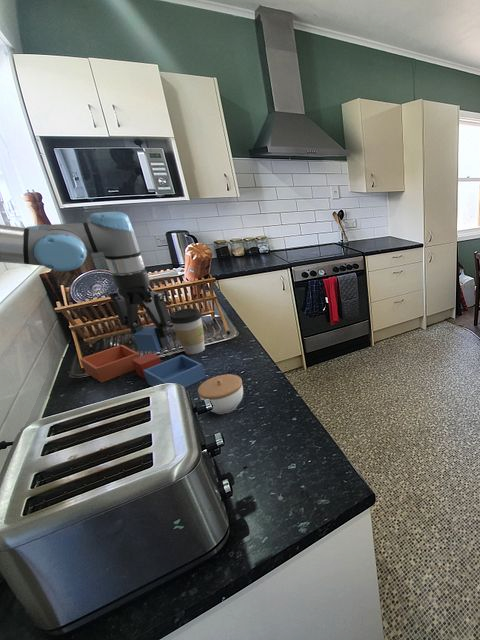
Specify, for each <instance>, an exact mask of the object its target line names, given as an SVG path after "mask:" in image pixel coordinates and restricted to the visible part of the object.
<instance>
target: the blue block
mask: <svg viewBox="0 0 480 640" xmlns="http://www.w3.org/2000/svg"><path fill="white" fill-rule="evenodd" d="M155 328H156V325H153V326H152V325H151V326H148V325H146V326H143V329H141V330H140V331H138V332H136V333H135V334H133V335H132V337H133V340H134V342H135V345H136V347H137V351H138V352H160V350H161V351H162V349H161V348H160V345H159V342H158V339H157V336H156V333H155V330H154V329H155ZM167 338H168V342H169V344H170V343H171V342H170V338H169V335H168V336H167Z"/></svg>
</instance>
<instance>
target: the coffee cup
mask: <svg viewBox="0 0 480 640" xmlns="http://www.w3.org/2000/svg"><path fill="white" fill-rule="evenodd" d="M169 315H170V318H171V321H172V322H171V323H170V324H171V325H172V327H173V330H174V332H175V335H176V337H177V339H178V342H179V343H180V345H181V346H182V348H183V350H184V353H185V354H186V355H195V354H199V353H200V354H201V353H202V352H203V351H205V349H206V345H205V334H204V326H203V325H204V323H203V321H202V317H203V314H202V312H201V311H200V310H199V309H198V308H193V307H189V308H182V309H178V310H175V311H173V312H172V313H170V314H169Z"/></svg>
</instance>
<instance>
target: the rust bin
mask: <svg viewBox="0 0 480 640" xmlns="http://www.w3.org/2000/svg"><path fill="white" fill-rule="evenodd" d="M140 356H141V355H140V353H139V352H137V351H135V350H133V349H131V348H129V347H128V346H126V345H123V344H119V345H117V346H114V347H111V348H107V349H105V350H102V351H99V352H95V353H93V354H90V355H89V354H88V355H87V356H84V357H81V358H79V361H80V363H81V366H82V367H83V370H84V372H85V373H86V374H87V375H89V376H90V377H92V378H94V379H95V380H97V381H98V382H99V383H105V382H107V381H110V380H112V379H115V378H118V377H121V376H122V375H125V374H128V373H130V372H133V371H136V370H135V368H134V365H133V362H132V359H135V358H138V357H140Z"/></svg>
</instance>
